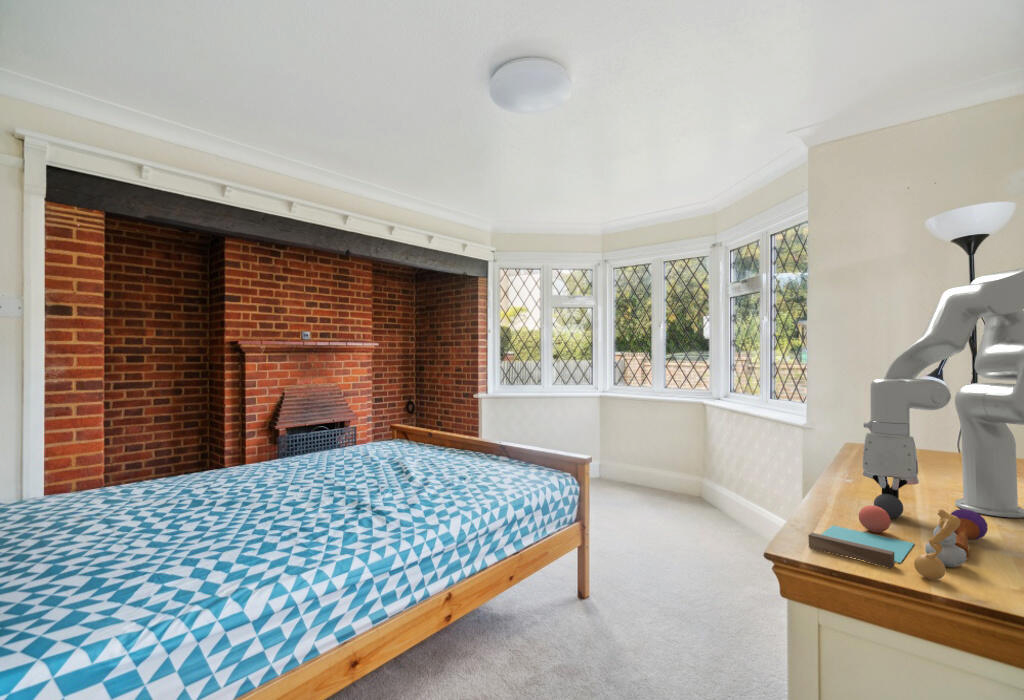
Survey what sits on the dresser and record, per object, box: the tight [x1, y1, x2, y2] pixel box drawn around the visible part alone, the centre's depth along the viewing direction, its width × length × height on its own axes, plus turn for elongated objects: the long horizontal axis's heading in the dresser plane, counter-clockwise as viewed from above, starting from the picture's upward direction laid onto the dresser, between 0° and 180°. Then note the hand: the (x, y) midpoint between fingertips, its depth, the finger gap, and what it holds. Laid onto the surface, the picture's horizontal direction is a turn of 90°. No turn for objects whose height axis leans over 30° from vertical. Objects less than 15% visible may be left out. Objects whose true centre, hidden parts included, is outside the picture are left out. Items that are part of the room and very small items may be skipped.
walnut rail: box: [807, 532, 896, 569], centre depth 88 cm, size 2×13×2 cm, turn 41°
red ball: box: [858, 504, 891, 533], centre depth 102 cm, size 6×6×6 cm
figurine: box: [913, 508, 960, 581], centre depth 78 cm, size 8×6×12 cm
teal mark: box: [821, 525, 915, 564], centre depth 95 cm, size 14×14×1 cm
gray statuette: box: [924, 524, 967, 568], centre depth 85 cm, size 5×7×8 cm
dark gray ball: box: [873, 493, 904, 519], centre depth 111 cm, size 6×6×6 cm
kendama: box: [950, 508, 988, 560], centre depth 94 cm, size 6×6×20 cm
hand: (890, 504), depth 114 cm, fingers closed
